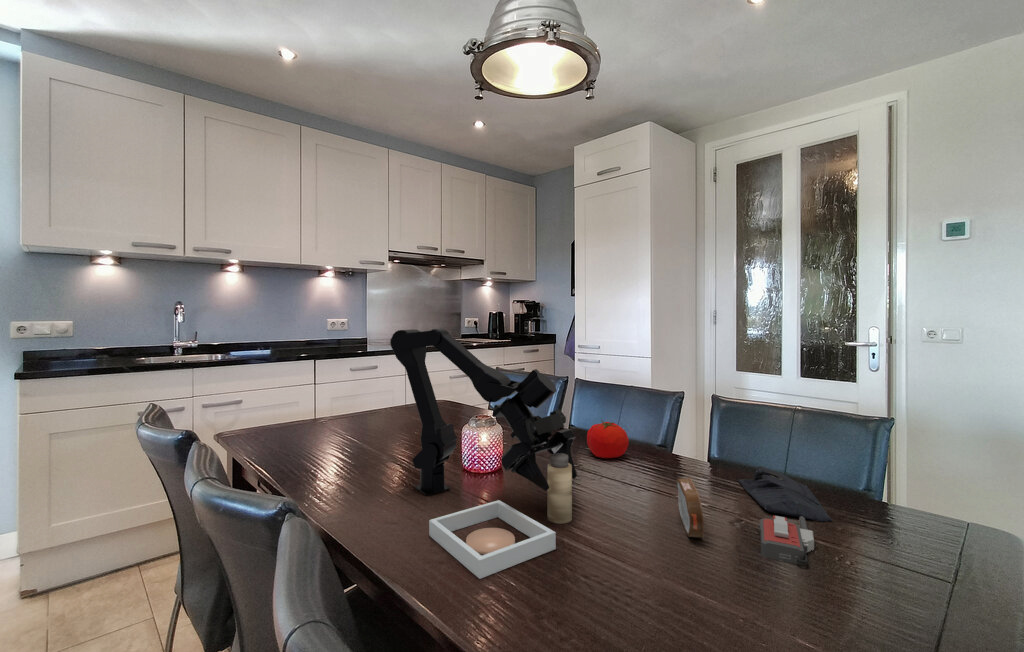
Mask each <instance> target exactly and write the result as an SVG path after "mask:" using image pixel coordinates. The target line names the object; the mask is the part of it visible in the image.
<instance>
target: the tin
mask: <svg viewBox="0 0 1024 652" xmlns="http://www.w3.org/2000/svg"><path fill="white" fill-rule="evenodd" d="M676 487H677V494H678V495H677V496H678V497H677V505H678V511H679V515H680V519H681V522H682V525H683V528H684V531H685V533H686V535H687V537H688V538H701V539H704V537H705V536H704V534H705V522H704V515H703V514H704V513H703V506H702V501H701V497H700V494H699V492H698V490H697V488H696V486H695V484H694V481H693V479H692V478H691V477H689V478H678V479H677V480H676Z"/></svg>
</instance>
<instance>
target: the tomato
mask: <svg viewBox="0 0 1024 652" xmlns="http://www.w3.org/2000/svg"><path fill="white" fill-rule="evenodd" d="M629 441H630V439H629V437H628V434H627V432H626V430H625V429H623V428H622V427H621V426H620V425H618V424H617V423H616V422H611V421H603V419H601V423H596V424H593V425H592V426H591V427H589V429H588V431H587V434H586V443H587V447H588V449H589V450H590V452H591V453H592V454H593V455H594V456H595V457H596V458H601V459H614V458H615V459H616V458H620V457H621V456H623V455H624V454H625V453H626V452H627V449H628V448H629Z"/></svg>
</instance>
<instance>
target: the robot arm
mask: <svg viewBox="0 0 1024 652" xmlns="http://www.w3.org/2000/svg"><path fill="white" fill-rule="evenodd" d="M389 342H390V347H391V349H392V352H393V354H394V355H395V357H396V359H397V360H398V362H399V363H400V364H401V365H402V366H403V367H404V369H405V371H406V375H407V379H408V381H409V386H410V389H411V391H412V395H413V399H414V401H415V402H414V403H415V405H416V409H417V411H418V415H419V419H420V422H421V433H420V446H421V450H419V452H418V453H417V454H416V455H415V456H414V457H413V458H412V463H413V466H414V469H419V470H420V471H419V472H420V473H419V474H420V475H419V479H420V480H419V481H420V483H419V484H417V485H415V486H414V489H415V490H417V491H418V492H420V493H421V494H422V495H424V496H431V495H435V494H439V493H440V494H441V493H443V492H447V491H450V490H451V487H450V486H449V485H447V484H446V483H445V462H446V461H448V460H450V457H451V455H452V454H453V452H455V450H456V448H457V440H458V439H459V438H458V437H457V435H456V433H455V428H454V425H453V423H451V422H450V423H446V422H445V421H444V420H443V418H442V414H441V411H440V408H439V404H438V400H437V399H436V395H435V392H434V388H433V385H432V382H431V377H430V375H429V371H428V369H427V365H426V357H427V351H428V350H427V347H431V346H432V347H435V349H436V350H438V351H439V352H440V353H441V354H442V355H444V357H445V358H446V359H448V360H449V361H450V362H451V363H452V364H453V365H455V367H457V368H458V370H460V371H461V372H462V373H463V374H465V376H467V377H468V379H470V381H471V383H472V385H473V387H474V389H475V390H476V392H477V393H478V394H479V396H481V398H482V399H483V401H486V402H488V403H496V402H499V401H500V400H503V399H504V398H505V399H504V400H503V402H501V403H500V404H495V405H493V406H494V407H493V411H492V415H491V416H492V417H494V418H504V419H505V421H506V423H507V424H508V426H509V427H510V429H511V431H512V432H511V434H510V437H511V438H512V439H515V438H516V439H517V440H518V442H517V443H514V444H511V446H510V447H509V448H508V449H507V450H506V452H504V453H503V455H502V456H501V466H503V468H504V471H506V472H507V471H511V473H512V474H513V473H516V474H517V475H519V476H521V477H523V478H525V479H527V480H528V481H530V482H532V484H534V485H536V486H537V487H539V488H540V489H541V490H543V491H545V492H547V490H548V489H549V485H548V483H547V480H546V478H545V476H544V474H543V472H542V471H541V469H540V468H539V466H538V464H537V460H536V454H540V453H542V452H546V451H547V452H548V453H549V454H550V455H551V454H554V453H564V454H567V455H568V463H570V464H571V465H572V480H573V479H576V478H577V477H578V473H577V470H576V467H575V463H574V460H573V457H572V456H573V455H572V451H571V450H572V449H571V448H572V445H573V444H574V440H575V439H576V435H575V434H574V432H573V431H572V430H571V429H567V428H565V423H566V422H567V416H566V415H565V414H564V413H563V412H562V410H561V409H556V410H553V411H550V412H549V415H547V416H544V417H541V416H539V415H536V416H535V415H534V414H533V412H532V411H531V409H530V408H534V409H539V408H540V407H541V406H542V405H543V404H544V403H545V402H546V401H547V400H549V399H550V398H551V397H552V396H553V395H555V393H556V392H557V387H556V386H555V384H554V382H553V381H552V380H551V378H549V377H547V376H546V375H545V374H544V373H542V372H540V371H539V370H538V369H537V368H535V369H533V370H532V371H530V372H529V374H528V375H527V377H526V378H524V379H523V380H522V381H521V382H520V381H518V380H514V379H513V380H512V379H511V378H509V376H507V375H506V374H505V373H503V372H502V371H500V370H498V369H495V368H493V367H491V366H489V365H487V364H485V363H483V362H482V361H481V360H480V359H479V358H478V357H477V356H475V355H474V354H473V353H471V351H469V350H468V349H467V348H466V347H465V346H463V344H462V343H460V342H459V341H458V340H457V339H455V337H453V336H452V334H450V333H449V331H448V330H447V329H445V328H434V329H431V330H425V331H421V330H419V329H412V328H411V329H410V328H409V329H398V330H397V331H395V332H394V333H393V334H392V336H391V338H390V341H389ZM514 394H515V395H514ZM512 395H513V396H512ZM511 396H512V397H511ZM506 397H507V398H506ZM559 429H561V430H559ZM556 430H559V431H556ZM553 431H556V432H555V433H554V432H553ZM549 438H550V439H549Z"/></svg>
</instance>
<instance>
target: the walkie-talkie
mask: <svg viewBox="0 0 1024 652" xmlns="http://www.w3.org/2000/svg"><path fill="white" fill-rule="evenodd" d="M798 519H799V524H800V525H797V524H796V523H794V522H789V521H788V518H787V517H785V516H779V515H772V518H767V517H766V518H765V517H764V518H760V519H759V521H760V522H759V523H758V532H759V533H758V535H759V537H760V539H759V540H760V556H761V555H762V557H763V556H764V557H763V558H765V557H766V558H765V559H768V558H770V560H773V559H776V560H775V561H778V560H782V561H781V562H783V561H785V562H784V563H787V562H790V563H789V564H792V563H793V564H794V565H797V564H799V565H798V566H807V564H808V556H807V553H809V552H812V551H815V538H814V531H813V530H810V529H808V524H807V521H806V519H805V518H804V517H803V516H800V517H798ZM811 550H812V551H811Z"/></svg>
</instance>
